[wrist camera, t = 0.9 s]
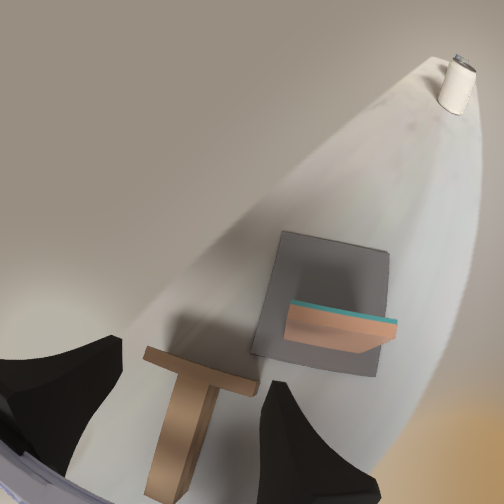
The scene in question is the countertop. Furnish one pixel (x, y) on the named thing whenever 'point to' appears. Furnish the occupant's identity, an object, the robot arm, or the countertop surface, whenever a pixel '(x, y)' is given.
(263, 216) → the countertop surface
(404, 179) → the countertop surface
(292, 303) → the tile
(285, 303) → the mat
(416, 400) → the countertop surface
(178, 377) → the wooden t-shaped piece
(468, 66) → the can
